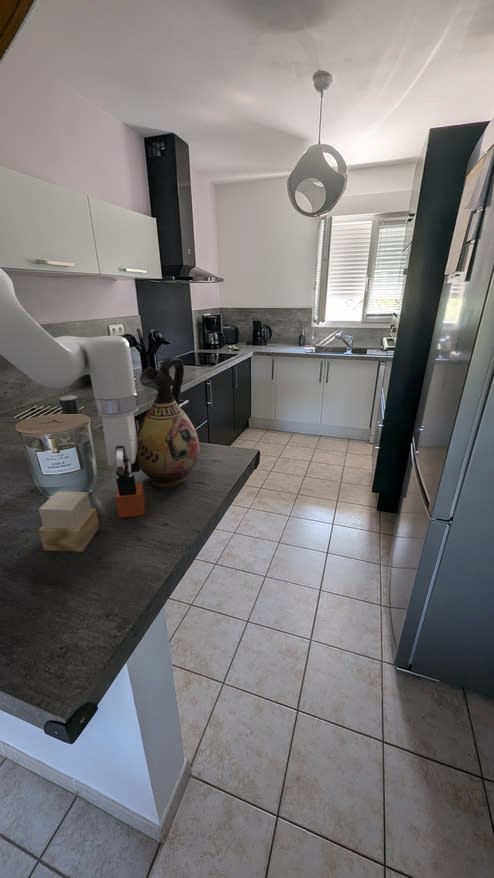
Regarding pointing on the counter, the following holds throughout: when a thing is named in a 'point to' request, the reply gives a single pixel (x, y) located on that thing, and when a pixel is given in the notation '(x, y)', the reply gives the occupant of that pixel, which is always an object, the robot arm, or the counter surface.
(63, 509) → the middle block
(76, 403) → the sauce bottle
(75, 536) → the base block
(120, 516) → the toy cube
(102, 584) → the counter surface
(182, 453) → the ceramic jug
